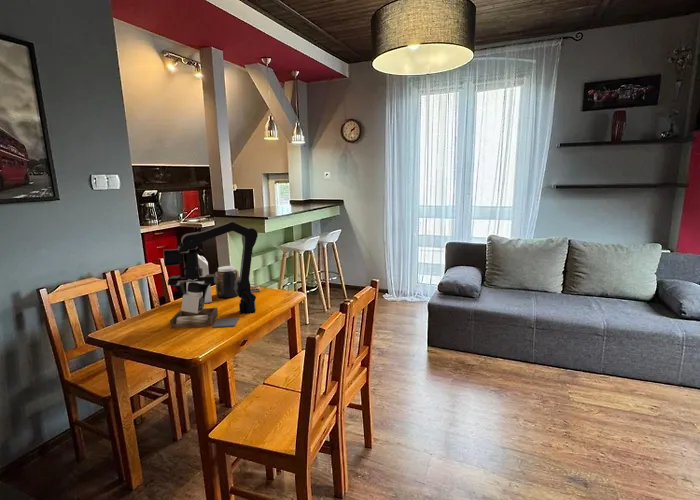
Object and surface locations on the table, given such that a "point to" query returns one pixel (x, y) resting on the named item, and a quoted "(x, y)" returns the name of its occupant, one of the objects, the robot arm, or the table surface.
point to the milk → (204, 266)
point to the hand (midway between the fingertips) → (194, 299)
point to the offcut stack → (192, 319)
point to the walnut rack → (205, 311)
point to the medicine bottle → (193, 298)
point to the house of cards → (254, 287)
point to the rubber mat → (225, 322)
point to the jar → (226, 281)
